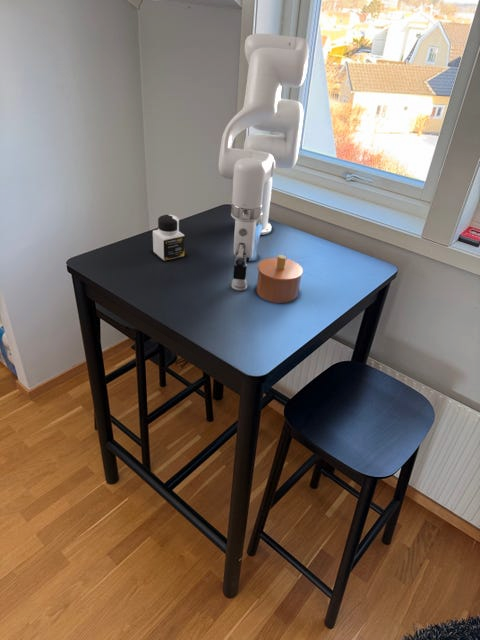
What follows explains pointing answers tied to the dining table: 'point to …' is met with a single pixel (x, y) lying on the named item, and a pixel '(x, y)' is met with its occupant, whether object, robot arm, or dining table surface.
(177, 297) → the dining table surface
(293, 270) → the pot lid
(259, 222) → the metal shaker cup
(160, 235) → the medicine bottle
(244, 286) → the rook chess piece
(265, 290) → the pot
